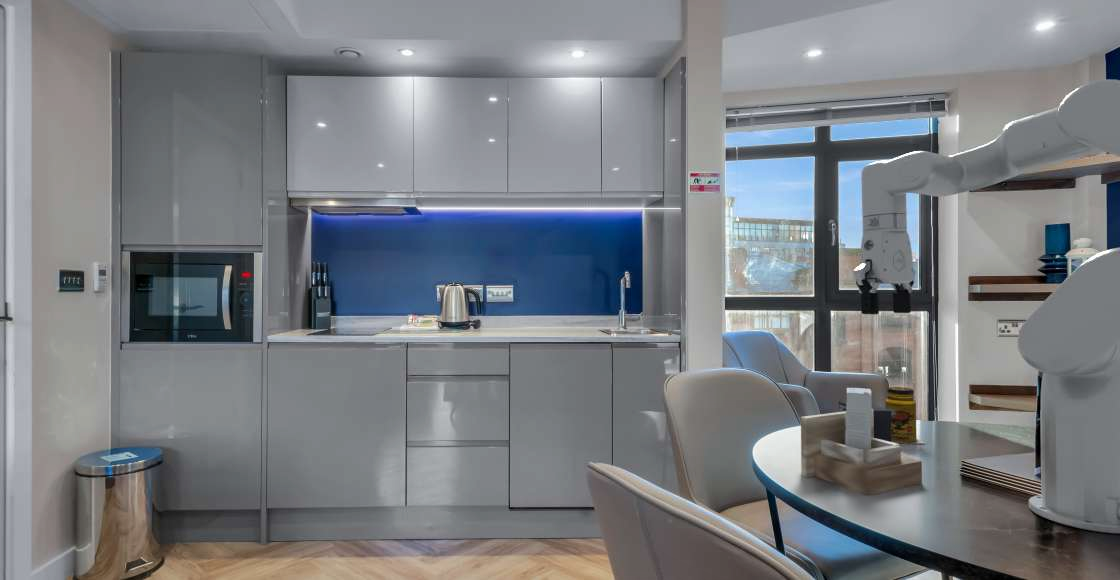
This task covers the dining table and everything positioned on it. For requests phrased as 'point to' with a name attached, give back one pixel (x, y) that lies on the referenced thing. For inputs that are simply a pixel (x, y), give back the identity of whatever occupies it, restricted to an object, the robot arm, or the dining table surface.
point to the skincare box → (858, 418)
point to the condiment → (902, 415)
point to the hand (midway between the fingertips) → (886, 313)
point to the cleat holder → (853, 457)
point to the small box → (877, 421)
